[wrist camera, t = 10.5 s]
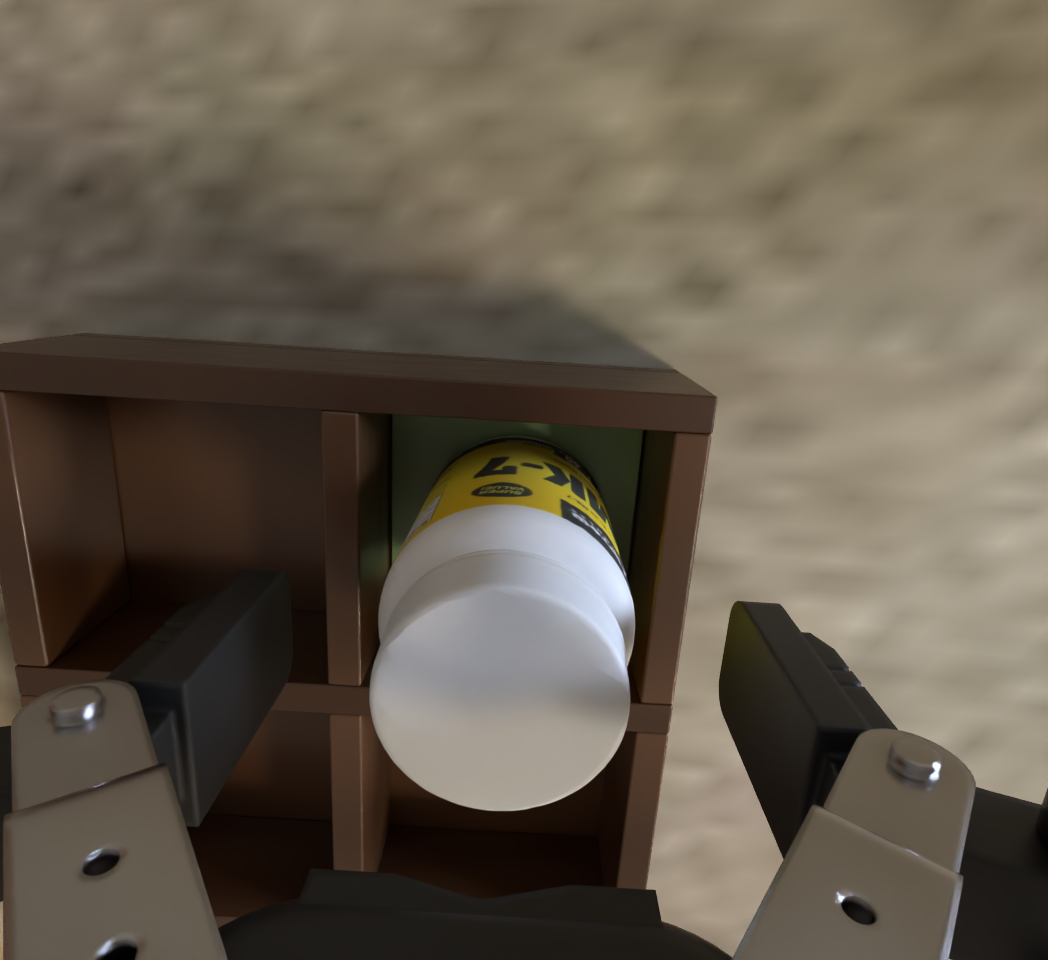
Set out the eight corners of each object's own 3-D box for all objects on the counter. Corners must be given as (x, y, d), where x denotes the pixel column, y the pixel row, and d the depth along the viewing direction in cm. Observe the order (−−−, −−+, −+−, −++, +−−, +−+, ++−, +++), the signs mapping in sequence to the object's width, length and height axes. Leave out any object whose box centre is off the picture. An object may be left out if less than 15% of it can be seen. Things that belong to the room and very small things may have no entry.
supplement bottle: (637, 481, 18) (722, 652, 10) (553, 623, 19) (566, 878, 11) (474, 398, 17) (421, 507, 9) (398, 550, 18) (294, 763, 10)
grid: (84, 332, 18) (-45, 348, 14) (677, 369, 18) (718, 396, 14) (145, 814, 22) (62, 930, 18) (617, 843, 22) (636, 964, 18)
